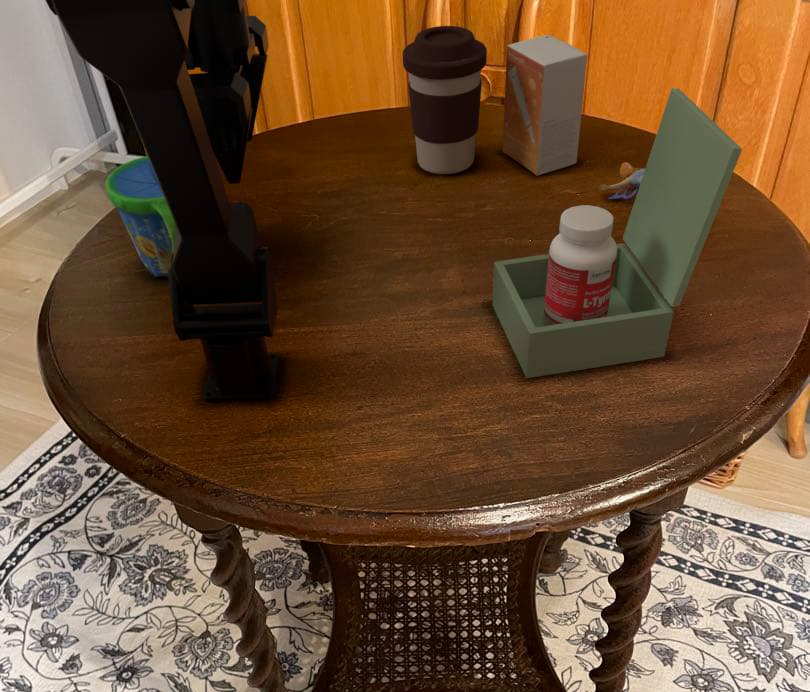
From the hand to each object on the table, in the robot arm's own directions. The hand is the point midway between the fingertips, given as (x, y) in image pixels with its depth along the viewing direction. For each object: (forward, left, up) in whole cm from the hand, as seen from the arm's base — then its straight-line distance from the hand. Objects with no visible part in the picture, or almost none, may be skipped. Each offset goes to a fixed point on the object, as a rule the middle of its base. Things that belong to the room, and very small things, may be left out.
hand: (240, 161), depth 85 cm
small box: (+26, -33, -13) cm, 44 cm away
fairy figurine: (+12, -45, -13) cm, 48 cm away
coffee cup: (+26, -21, -13) cm, 36 cm away
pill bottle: (-12, -32, -12) cm, 37 cm away
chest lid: (-11, -40, 0) cm, 41 cm away
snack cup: (+4, +10, -13) cm, 17 cm away
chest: (-12, -32, -13) cm, 37 cm away
